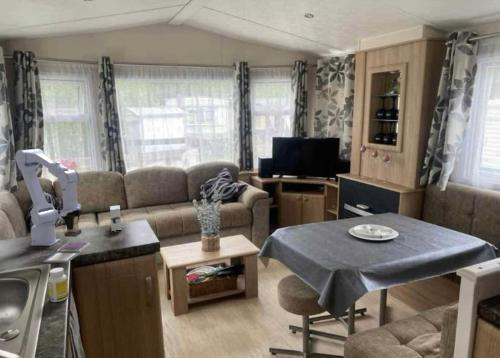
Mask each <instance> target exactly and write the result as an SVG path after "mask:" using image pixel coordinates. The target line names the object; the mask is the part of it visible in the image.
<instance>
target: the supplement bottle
mask: <svg viewBox="0 0 500 358" xmlns="http://www.w3.org/2000/svg"><path fill="white" fill-rule="evenodd" d="M64 270H65V269H64V268H63V267H55V268H52V269H50V270H49V277H48V279H47V285H48V287H47V288H48V297H49V301H50V302H52V303H57V302H62V301H66V299H68V298H69V290H68V289H69V288H68V287H69V286H68V279H67V278H68V277H67V275H66V274H64V272H65V271H64Z"/></svg>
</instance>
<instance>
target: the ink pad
mask: <svg viewBox="0 0 500 358" xmlns="http://www.w3.org/2000/svg"><path fill="white" fill-rule="evenodd" d="M90 246H91V242H89V241H88V242H87V241H86V242H85V241H83V242H81V241H80V242H79V241H78V242H75V241H74V242H73V241H69V242H67V243H65V244H63V245H62V246H61V247H60V248H58V249H57V250H56V252H80V253H79V254H81V253H83V251H85V250H86V249H87V248H88V247H90Z"/></svg>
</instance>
